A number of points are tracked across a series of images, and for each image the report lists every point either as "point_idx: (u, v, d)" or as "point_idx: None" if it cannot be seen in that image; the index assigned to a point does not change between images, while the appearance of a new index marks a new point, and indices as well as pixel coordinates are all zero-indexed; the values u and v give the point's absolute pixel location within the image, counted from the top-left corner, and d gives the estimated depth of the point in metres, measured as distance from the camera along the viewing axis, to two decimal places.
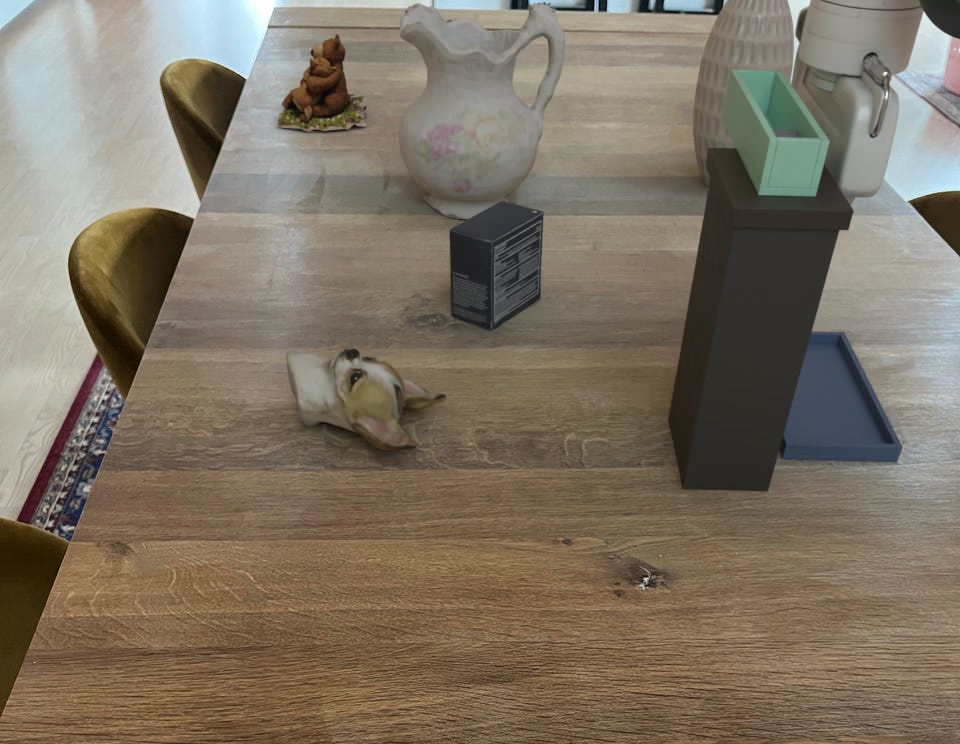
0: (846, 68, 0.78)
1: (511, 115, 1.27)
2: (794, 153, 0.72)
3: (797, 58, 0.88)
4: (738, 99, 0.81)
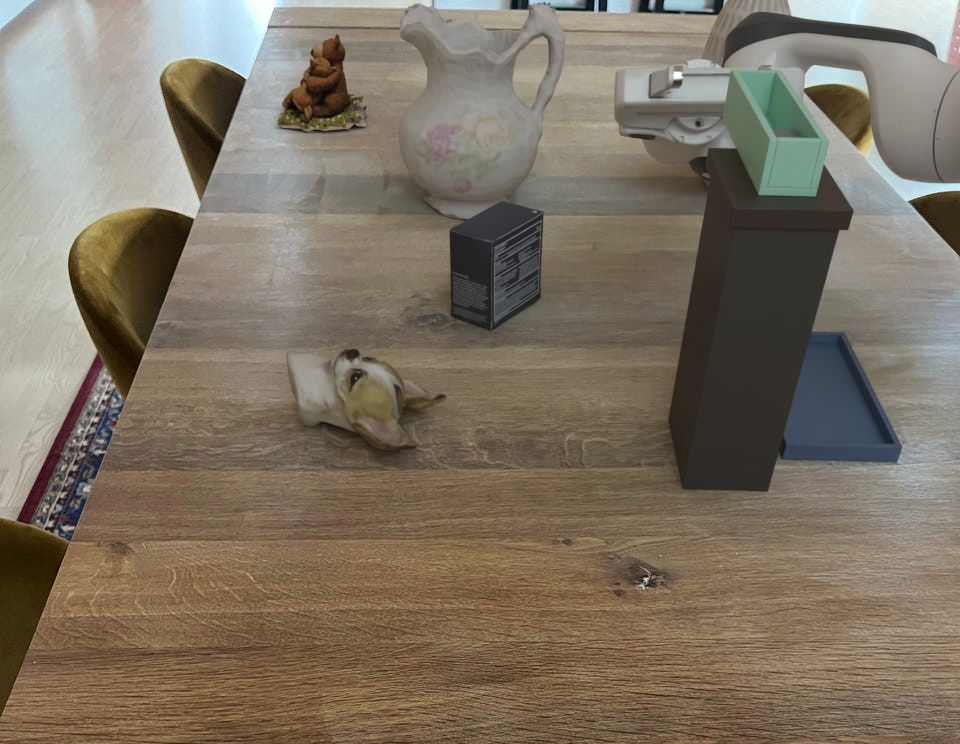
0: None
1: (511, 115, 1.27)
2: (794, 153, 0.72)
3: None
4: (738, 99, 0.81)
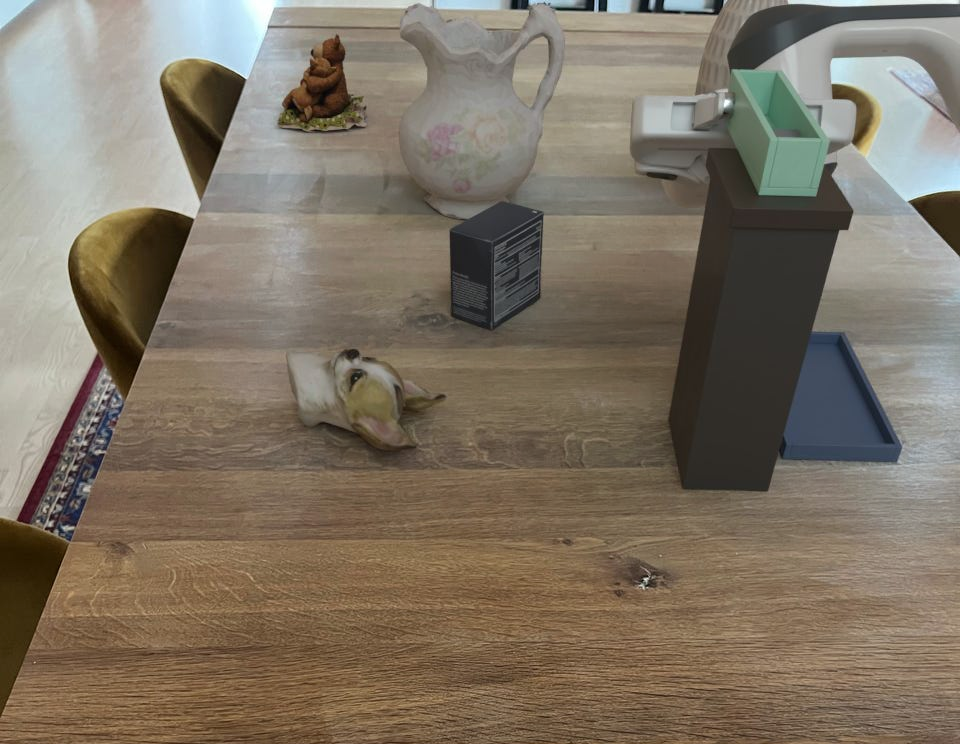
0: None
1: (511, 115, 1.27)
2: (794, 153, 0.72)
3: None
4: (739, 99, 0.81)
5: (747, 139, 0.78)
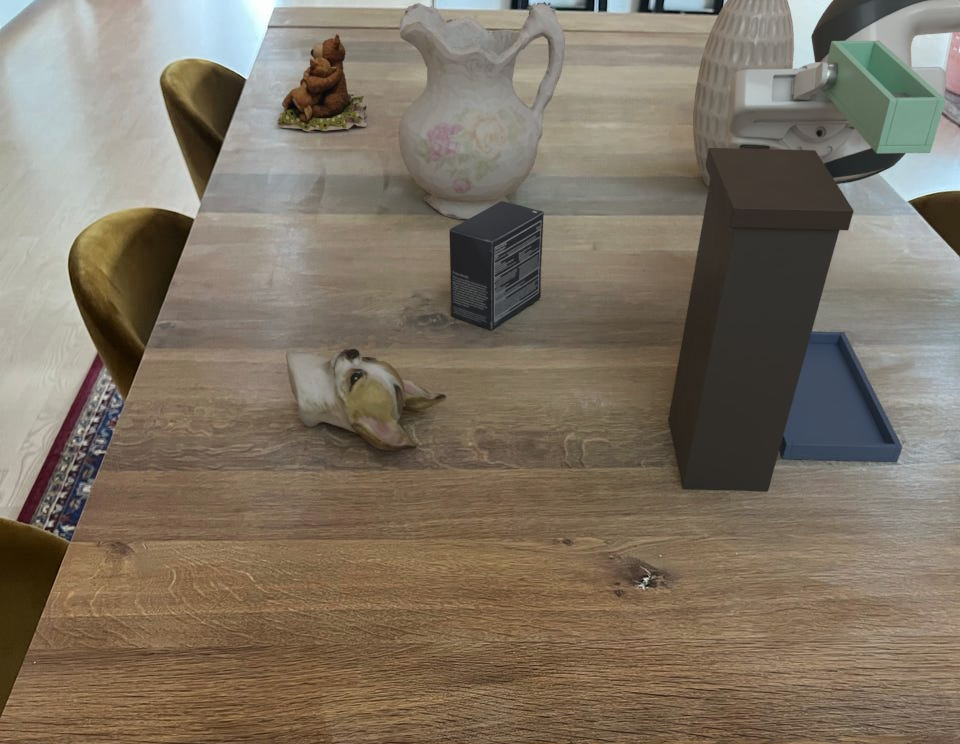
0: None
1: (511, 115, 1.27)
2: (912, 112, 0.77)
3: None
4: (843, 68, 0.86)
5: (857, 103, 0.83)
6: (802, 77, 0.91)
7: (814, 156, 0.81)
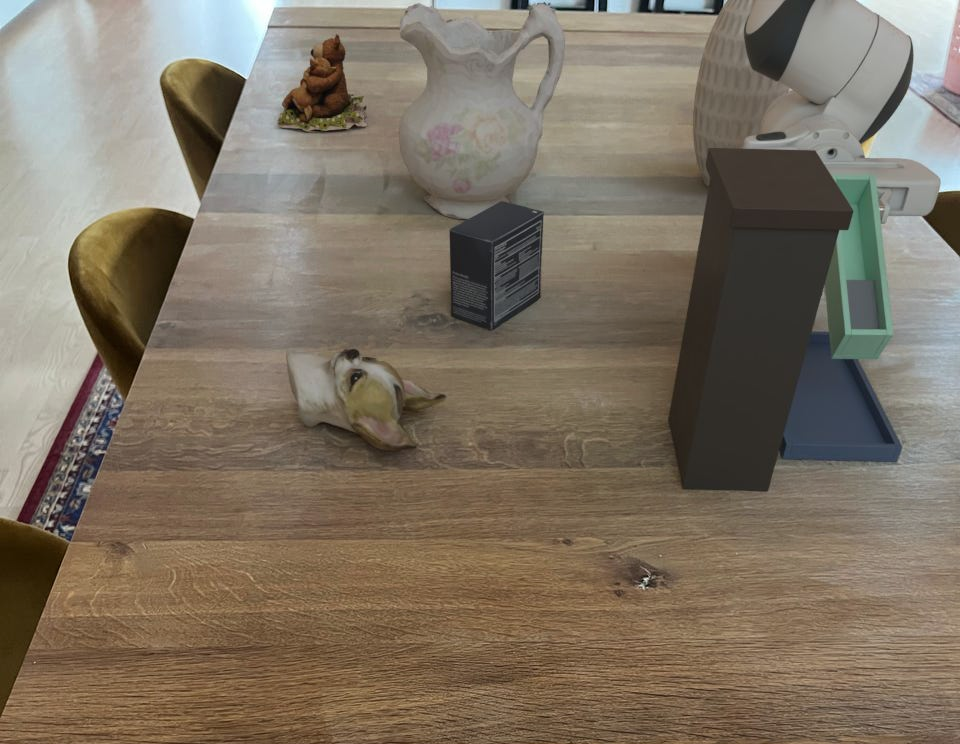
0: None
1: (511, 115, 1.27)
2: (863, 340, 0.90)
3: None
4: None
5: (831, 284, 0.93)
6: None
7: (814, 156, 0.81)
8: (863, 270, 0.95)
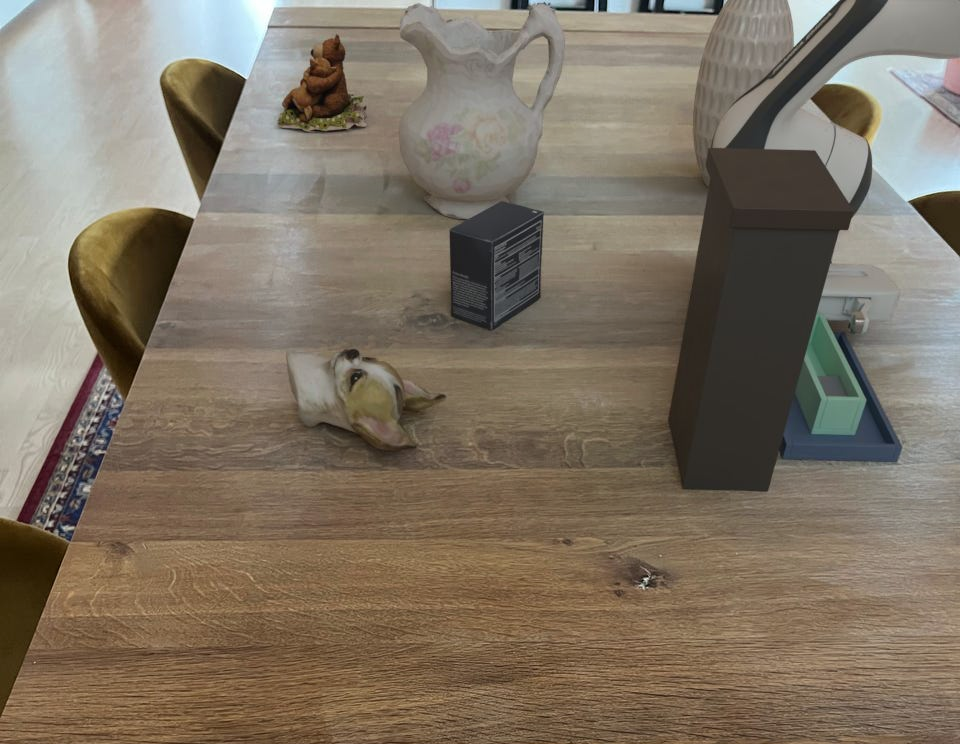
0: (831, 261, 1.11)
1: (511, 115, 1.27)
2: (839, 407, 0.95)
3: None
4: None
5: (800, 382, 1.01)
6: None
7: (814, 156, 0.81)
8: None
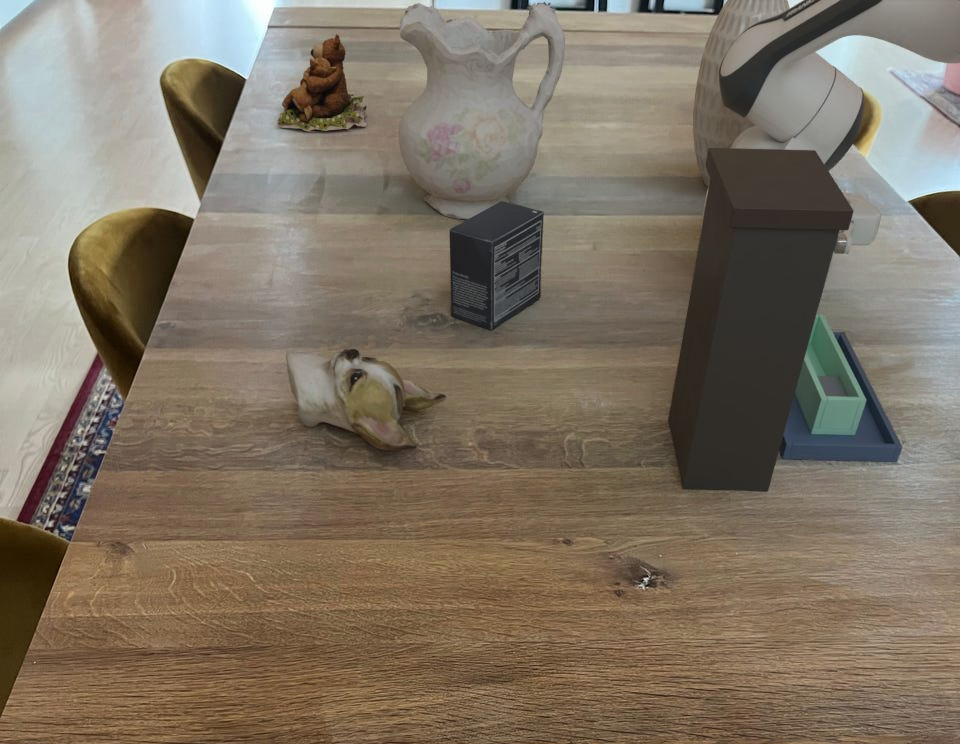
0: None
1: (511, 115, 1.27)
2: (839, 407, 0.95)
3: None
4: None
5: (800, 382, 1.01)
6: None
7: (814, 156, 0.81)
8: None
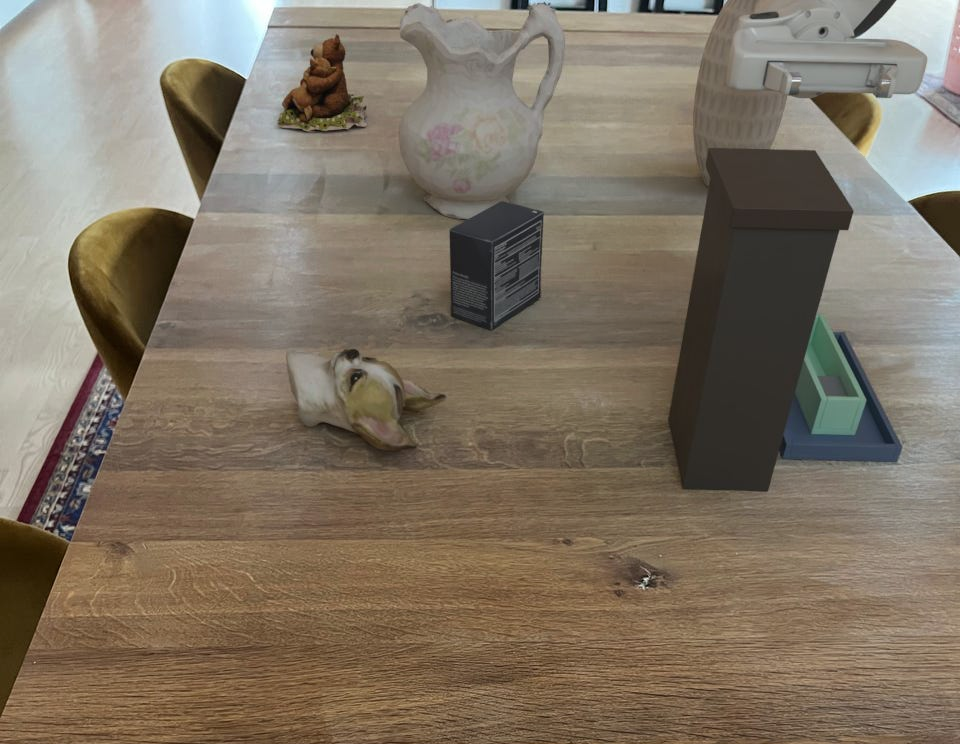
0: None
1: (511, 115, 1.27)
2: (839, 407, 0.95)
3: (745, 32, 1.03)
4: None
5: (800, 382, 1.01)
6: (772, 72, 1.00)
7: (814, 156, 0.81)
8: None
